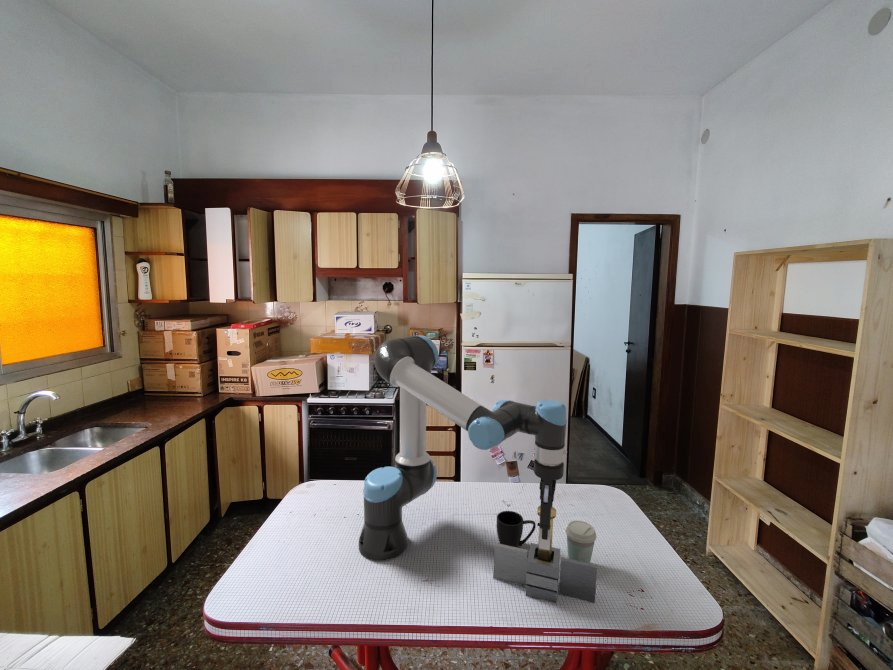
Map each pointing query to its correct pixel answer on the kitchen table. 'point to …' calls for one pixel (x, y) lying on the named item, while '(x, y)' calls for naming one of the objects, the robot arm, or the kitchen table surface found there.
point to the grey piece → (518, 568)
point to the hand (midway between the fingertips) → (545, 543)
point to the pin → (546, 554)
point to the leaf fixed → (562, 577)
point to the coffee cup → (580, 540)
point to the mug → (512, 528)
